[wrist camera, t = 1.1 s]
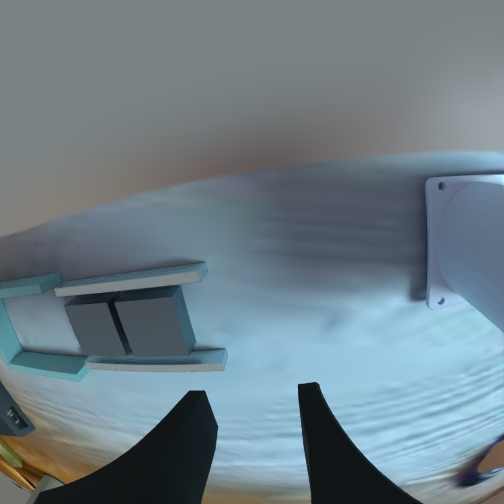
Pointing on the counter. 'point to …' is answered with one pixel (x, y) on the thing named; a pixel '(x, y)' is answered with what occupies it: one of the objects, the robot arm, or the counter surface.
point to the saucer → (9, 454)
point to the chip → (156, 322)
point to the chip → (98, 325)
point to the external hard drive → (12, 416)
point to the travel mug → (44, 487)
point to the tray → (49, 365)
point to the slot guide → (138, 280)
